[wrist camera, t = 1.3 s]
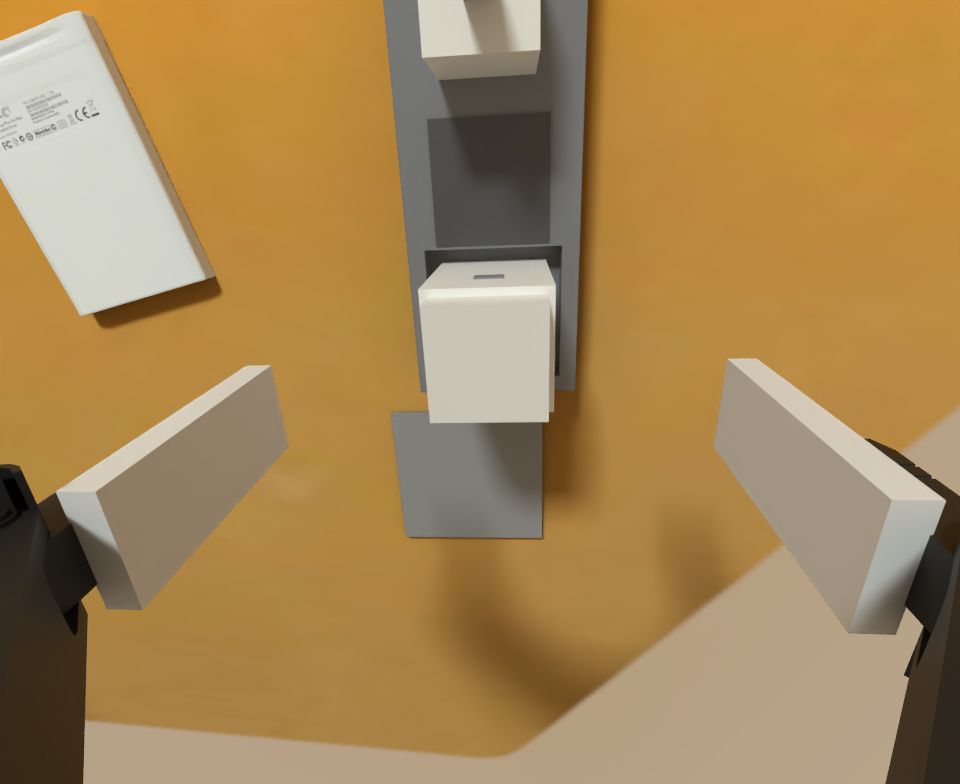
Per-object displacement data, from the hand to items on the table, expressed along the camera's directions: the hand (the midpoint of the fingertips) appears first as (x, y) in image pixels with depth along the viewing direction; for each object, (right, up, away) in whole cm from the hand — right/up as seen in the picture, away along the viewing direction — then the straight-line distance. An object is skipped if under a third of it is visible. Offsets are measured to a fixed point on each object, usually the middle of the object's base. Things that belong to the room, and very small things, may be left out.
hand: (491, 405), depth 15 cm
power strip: (0, +15, +8) cm, 18 cm away
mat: (-1, -5, +17) cm, 18 cm away
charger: (0, +5, +11) cm, 12 cm away
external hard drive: (-21, +12, +12) cm, 27 cm away
